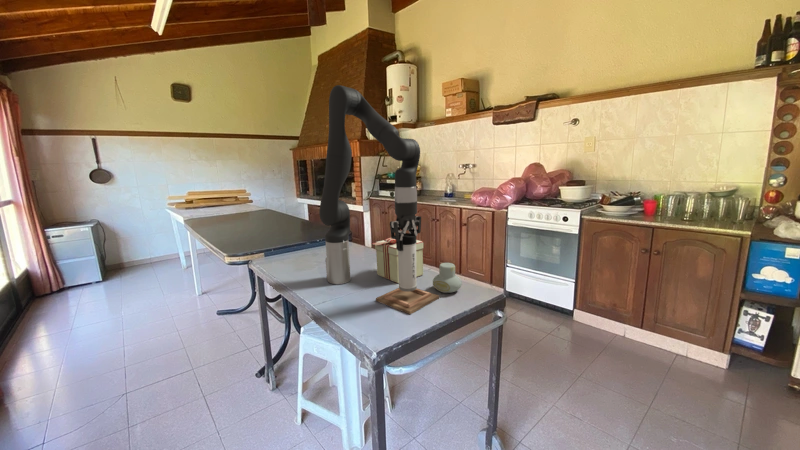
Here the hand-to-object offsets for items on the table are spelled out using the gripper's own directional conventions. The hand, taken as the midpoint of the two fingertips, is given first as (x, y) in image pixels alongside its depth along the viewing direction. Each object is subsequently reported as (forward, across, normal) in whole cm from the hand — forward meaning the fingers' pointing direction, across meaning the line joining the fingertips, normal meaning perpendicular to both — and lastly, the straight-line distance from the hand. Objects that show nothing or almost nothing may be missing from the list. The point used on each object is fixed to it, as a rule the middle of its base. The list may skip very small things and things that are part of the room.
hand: (406, 248), depth 111 cm
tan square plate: (+19, 0, 0) cm, 19 cm away
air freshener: (+19, -16, +6) cm, 26 cm away
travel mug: (+15, 0, 0) cm, 15 cm away
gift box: (+19, -16, -20) cm, 32 cm away
